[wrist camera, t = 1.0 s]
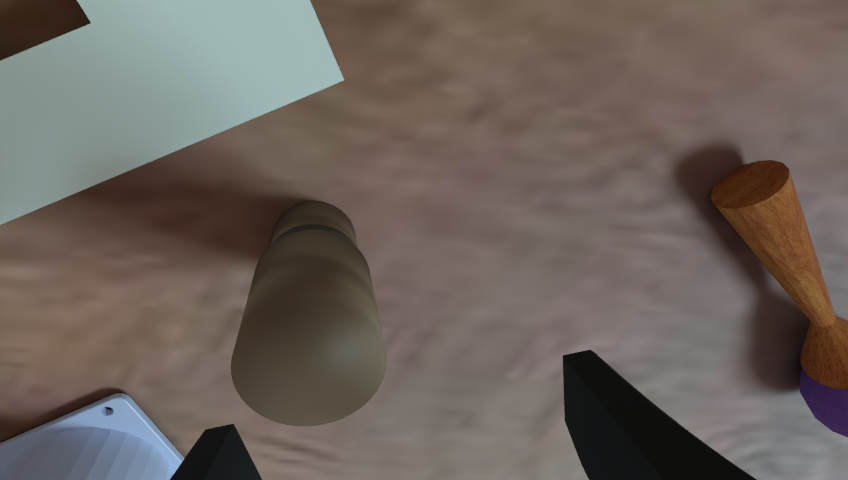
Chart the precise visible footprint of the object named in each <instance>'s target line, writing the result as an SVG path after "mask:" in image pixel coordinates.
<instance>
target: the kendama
mask: <svg viewBox="0 0 848 480" xmlns="http://www.w3.org/2000/svg"><path fill="white" fill-rule="evenodd" d="M711 200H712V201H713V203H714V205H715V206H716V207H717V208H718V209H719V211H720V212H721V213H722V214H723V215H724V217H725V218H726V219H727V220H728V222H729V223H730V224H731V225H732V226H733V228H734V229H735V230H736V231H737V232H738V234H739V235H740V236H741V237H742V239H743V240H744V241H745V242H746V243H747V245H748V246H749V247H750V248H751V249H752V251H753V252H754V253H755V254H756V256H757V257H758V258H759V259H760V260H761V262H762V263H763V264H764V265H765V266H766V268H767V269H768V270H769V271H770V273H771V274H772V275H773V276H774V277H775V279H776V280H777V281H778V282H779V283H780V285H781V286H782V287H783V288H784V290H785V291H786V292H787V293H788V294H789V296H790V297H791V298H792V299H793V301H794V302H795V303H796V304H797V305H798V307H799V308H800V309H801V310H802V311H803V313H804V314H805V315H806V316H807V318H808V319H809V320H810V321H811V322H810V325H809V328H808V331H807V334H806V338H805V341H804V344H803V347H802V350H801V365H802V370H801V374H800V393H801V394H802V396H803V398H804V400H805V401H806V403H807V405H808V407H809V408H810V410H811V412H812V413H813V415H814V416H815V418H816V419H818V420H819V421H820V422H821V423H823V424H824V425H825V426H827V427H828V428H829V429H830V430H832V431H833V432H836V433H838V434H841V435H843V436H846V437H848V321H846V320H844V319H842V318H840V317H838V316H836V315H835V314H834V311H833V308H832V304H831V301H830V298H829V295H828V292H827V289H826V285H825V282H824V279H823V276H822V273H821V269H820V266H819V263H818V260H817V257H816V254H815V250H814V247H813V244H812V241H811V238H810V234H809V231H808V228H807V225H806V222H805V219H804V215H803V212H802V209H801V206H800V203H799V199H798V196H797V193H796V190H795V187H794V184H793V180H792V177H791V174H790V171H789V169H788V168H787V167H786V166H785V165H784V164H783V163H781V162H777V161H773V160H768V161H757V162H753V163H750V164H746V165H743V166H741V167H739V168H738V169H736V170H735V171H734V172H733V173H731V174H730V175H729V176H727V177H726V178H725V179H724V180H722V181H721V182H720V183H719V184H717V185H716V186H715V187H714V188H713V189H712V191H711Z"/></svg>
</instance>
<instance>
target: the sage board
mask: <svg viewBox="0 0 848 480" xmlns="http://www.w3.org/2000/svg"><path fill="white" fill-rule="evenodd" d="M77 1H78V3H79V5H80V6H81V8H82V9H83V11H84V13H85V14H86V16H87V17H88V19H89V20H90V22H91V23H90V24H88V25H86V26H83V27H81V28H78V29H76V30H73V31H71V32H69V33H66V34H64V35H61V36H59V37H57V38H54V39H52V40H49V41H47V42H44V43H42V44H40V45H37V46H35V47H32V48H30V49H27V50H25V51H23V52H20V53H18V54H15V55H13V56H10V57H8V58H6V59H3V60H1V61H0V225H1V224H3V223H6V222H8V221H11V220H13V219H15V218H18V217H20V216H22V215H25V214H27V213H30V212H32V211H34V210H37V209H39V208H42V207H44V206H46V205H49V204H51V203H53V202H56V201H58V200H61V199H63V198H65V197H68V196H70V195H72V194H75V193H77V192H80V191H82V190H84V189H87V188H89V187H91V186H94V185H96V184H99V183H101V182H103V181H106V180H108V179H110V178H113V177H115V176H118V175H120V174H122V173H125V172H127V171H130V170H132V169H134V168H137V167H139V166H141V165H144V164H146V163H149V162H151V161H153V160H156V159H158V158H160V157H163V156H165V155H168V154H170V153H172V152H175V151H177V150H179V149H182V148H184V147H187V146H189V145H191V144H194V143H196V142H198V141H201V140H203V139H206V138H208V137H210V136H213V135H215V134H218V133H220V132H222V131H225V130H227V129H229V128H232V127H234V126H237V125H239V124H241V123H244V122H246V121H248V120H251V119H253V118H256V117H258V116H260V115H263V114H265V113H267V112H270V111H272V110H275V109H277V108H279V107H282V106H284V105H287V104H289V103H291V102H294V101H296V100H298V99H301V98H303V97H306V96H308V95H310V94H313V93H315V92H317V91H320V90H322V89H325V88H327V87H329V86H332V85H334V84H336V83H339V82H341V81H344V79H343V76H342V74H341V72H340V69H339V67H338V65H337V62H336V60H335V58H334V55H333V53H332V51H331V48H330V46H329V44H328V41H327V39H326V37H325V34H324V32H323V30H322V27H321V25H320V23H319V20H318V18H317V16H316V13H315V11H314V9H313V6H312V4H311V2H310V0H77Z"/></svg>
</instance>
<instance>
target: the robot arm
mask: <svg viewBox="0 0 848 480" xmlns="http://www.w3.org/2000/svg"><path fill="white" fill-rule="evenodd" d="M563 375H564V406H565V422H566V425H567V427H568V430H569V433H570V435H571V438H572V441H573V443H574V446H575V449H576V451H577V454H578V456H579V459H580V461H581V464H582V466H583V468H584V470H585V472H586V474H587V476H588V478H589V480H756V479H755V478H753V477H752V476H750V475H749V474H747V473H746V472H744V471H743V470H741V469H740V468H739V467H737V466H736V465H734V464H733V463H731V462H730V461H729V460H727V459H726V458H724V457H723V456H721V455H720V454H719V453H717V452H716V451H715V450H713V449H712V448H710V447H709V446H708V445H706V444H705V443H704V442H702V441H701V440H699V439H698V438H697V437H695V436H694V435H693V434H692V433H690V432H689V431H688V430H686V429H685V428H684V427H682V426H681V425H680V424H679V423H677V422H676V421H675V420H673V419H672V418H671V417H670V416H668V415H667V414H666V413H665V412H663V411H662V410H661V409H660V408H658V407H657V406H656V405H655V404H653V403H652V402H651V401H650V400H649V399H647V398H646V397H645V396H644V395H643V394H641V393H640V392H639V391H638V390H637V389H635V388H634V387H633V386H632V385H631V384H630V383H628V382H627V381H626V380H625V379H624V378H623V377H622V376H620V375H619V374H618V373H617V372H616V371H615V370H614V369H612V368H611V367H610V366H609V365H608V364H607V363H606V362H605V361H603V360H602V359H601V358H600V357H599V356H598V355H597V354H596V353H594V352H593V351H591V350H587V351H582V352H577V353H573V354H568V355H563ZM105 407H110V408H112V409H113V410H109V409H107V408H105ZM0 480H262V479H261V477H260V475H259V473H258V471H257V469H256V467H255V465H254V463H253V461H252V459H251V457H250V455H249V453H248V451H247V449H246V447H245V445H244V443H243V441H242V439H241V437H240V435H239V433H238V432H237V430H236V428H235V426H234V424H231V425H226V426H221V427H216V428H211V429H206V430H205V431H204V432H203V434H202V435H201V436H200V438H199V439H198V441H197V442H196V443H195V445H194V446H193V447H192V449H191V450H190V452H189V453H188V454H187V456H186V457H185V458H184V457H183V456H182V455H181V454H180V453H179V452H178V451H177V449H176V448H175V447H174V446H173V445H172V444H171V443H170V442H169V440H168V439H167V438H166V437H165V436H164V435H163V434H162V433H161V431H160V430H159V429H158V428H157V427H156V426H155V425H154V424H153V422H152V421H151V420H150V419H149V418H148V417H147V416H146V415H145V414H144V412H143V411H142V410H141V409H140V408H139V407H138V406H137V405H136V403H135V402H134V401H133V400H132V399H131V398H130V397H129V396H128V395H126V394H123V393H117V394H113V395H111V396H108V397H106V398H104V399H101V400H99V401H97V402H94V403H92V404H90V405H87V406H85V407H83V408H81V409H78V410H76V411H74V412H71V413H69V414H67V415H64V416H62V417H60V418H57V419H55V420H53V421H50V422H48V423H46V424H43V425H41V426H39V427H36V428H34V429H32V430H29V431H27V432H25V433H22V434H20V435H18V436H16V437H13V438H11V439H9V440H6V441H4V442H2V443H0Z"/></svg>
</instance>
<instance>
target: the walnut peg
mask: <svg viewBox="0 0 848 480" xmlns="http://www.w3.org/2000/svg"><path fill="white" fill-rule="evenodd" d="M385 370H386V351H385V346H384V341H383V336H382V331H381V326H380V321H379V316H378V311H377V306H376V301H375V296H374V291H373V286H372V281H371V276H370V271H369V267H368V264H367V262H366V260H365V258H364V256H363V254H362V253H361V252H360V251H359V249H358V248H357V242H356V236H355V231H354V227H353V225H352V223H351V221H350V219H349V218H348V217H347V215H346V214H344V213H343V212H342V211H341V210H340V209H338V208H337V207H335V206H333V205H331V204H328V203H324V202H318V201H310V202H304V203H300V204H297V205H295V206H293V207H291V208H289V209H288V210H286V211H285V212H284V213H283V214H282V215H281V216H280V218H279V219H278V221H277V222H276V225H275V227H274V230H273V234H272V239H271V243H270V247H268V248H267V250H266V251H265V252H264V253H263V255H262V256H261V258H260V259H259V261H258V264H257V266H256V270H255V273H254V277H253V281H252V284H251V288H250V292H249V296H248V299H247V303H246V307H245V311H244V314H243V318H242V322H241V326H240V329H239V333H238V337H237V341H236V344H235V348H234V352H233V356H232V361H231V375H232V379H233V383H234V386H235V388H236V390H237V392H238V394H239V395H240V397H241V398H242V400H243V401H244V402H245V403H246V404H247V405H248V406H249V407H250V408H251V409H253V410H254V411H255V412H257V413H258V414H260V415H262V416H264V417H266V418H268V419H270V420H273V421H275V422H278V423H282V424H287V425H294V426H315V425H321V424H326V423H330V422H334V421H337V420H339V419H342V418H344V417H346V416H348V415H350V414H352V413H354V412H355V411H357V410H358V409H360V408H361V407H362V406H363V405H365V404H366V403H367V402H368V401H369V400H370V399H371V398H372V396H373V395H374V394H375V392H376V391H377V390H378V388H379V386H380V384H381V382H382V380H383V377H384V374H385Z"/></svg>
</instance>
